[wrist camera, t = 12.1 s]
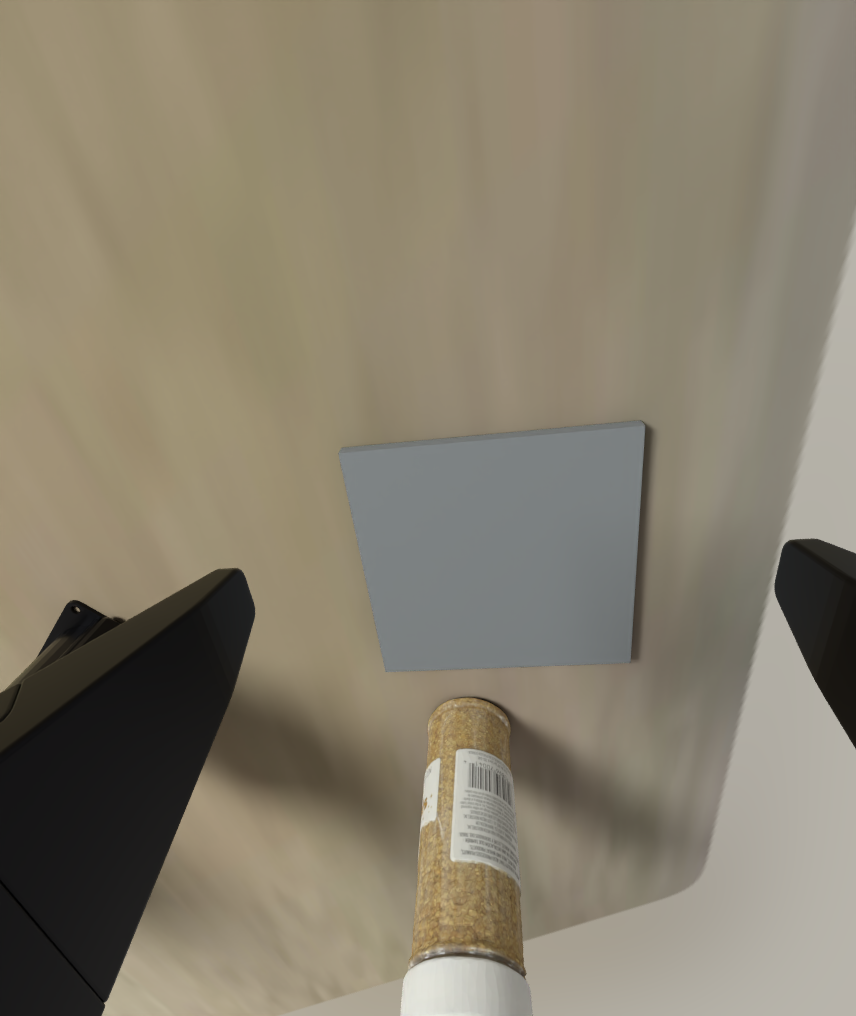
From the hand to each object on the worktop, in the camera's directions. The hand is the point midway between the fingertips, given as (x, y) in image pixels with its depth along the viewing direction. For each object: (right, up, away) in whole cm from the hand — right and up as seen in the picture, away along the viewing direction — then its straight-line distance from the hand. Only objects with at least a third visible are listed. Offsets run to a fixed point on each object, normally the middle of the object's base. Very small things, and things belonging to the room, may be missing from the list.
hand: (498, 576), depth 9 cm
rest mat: (+2, -1, +15) cm, 16 cm away
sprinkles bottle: (+1, -11, +21) cm, 23 cm away
